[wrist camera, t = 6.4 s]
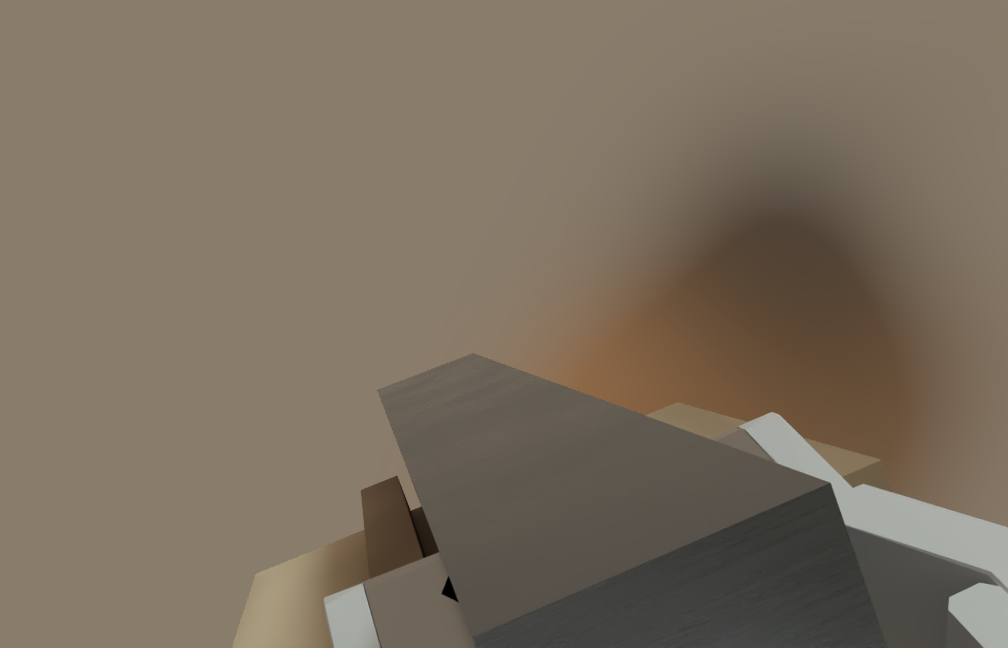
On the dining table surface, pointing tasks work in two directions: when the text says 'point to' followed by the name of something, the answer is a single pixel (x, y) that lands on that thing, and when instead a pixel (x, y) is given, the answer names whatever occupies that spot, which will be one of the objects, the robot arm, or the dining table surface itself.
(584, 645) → the steel block
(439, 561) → the robot arm
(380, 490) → the maple stand
